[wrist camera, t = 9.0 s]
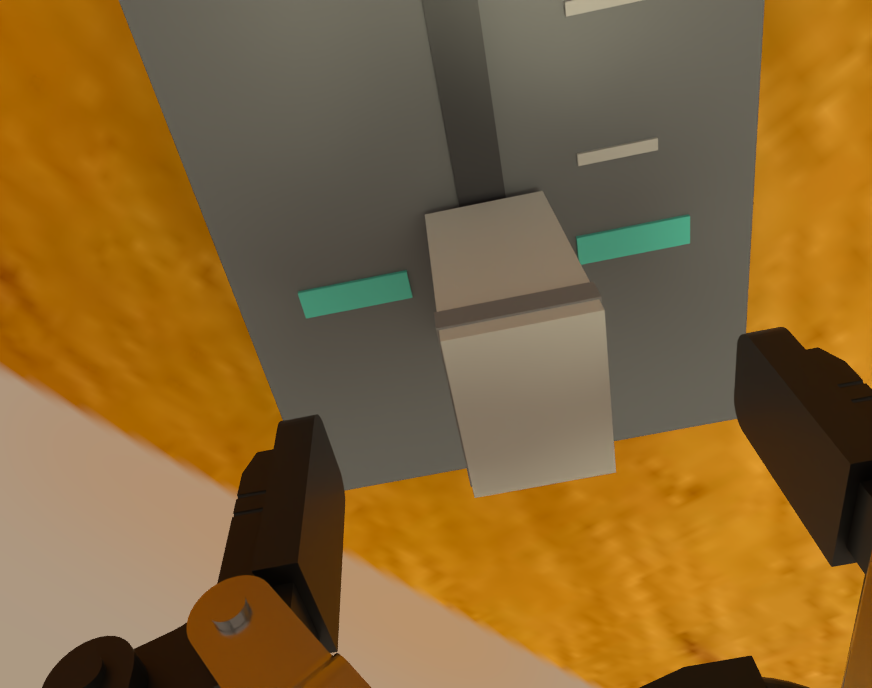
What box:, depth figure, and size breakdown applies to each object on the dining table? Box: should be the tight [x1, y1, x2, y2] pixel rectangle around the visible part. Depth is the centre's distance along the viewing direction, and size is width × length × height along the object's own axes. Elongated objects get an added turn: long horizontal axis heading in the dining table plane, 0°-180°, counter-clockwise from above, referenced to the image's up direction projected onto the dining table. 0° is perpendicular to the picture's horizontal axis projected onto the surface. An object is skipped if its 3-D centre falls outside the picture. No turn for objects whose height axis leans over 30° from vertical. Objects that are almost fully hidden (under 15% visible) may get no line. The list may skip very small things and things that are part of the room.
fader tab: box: [425, 191, 616, 498], centre depth 17 cm, size 4×3×6 cm
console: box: [119, 0, 764, 490], centre depth 17 cm, size 26×14×3 cm, turn 11°
